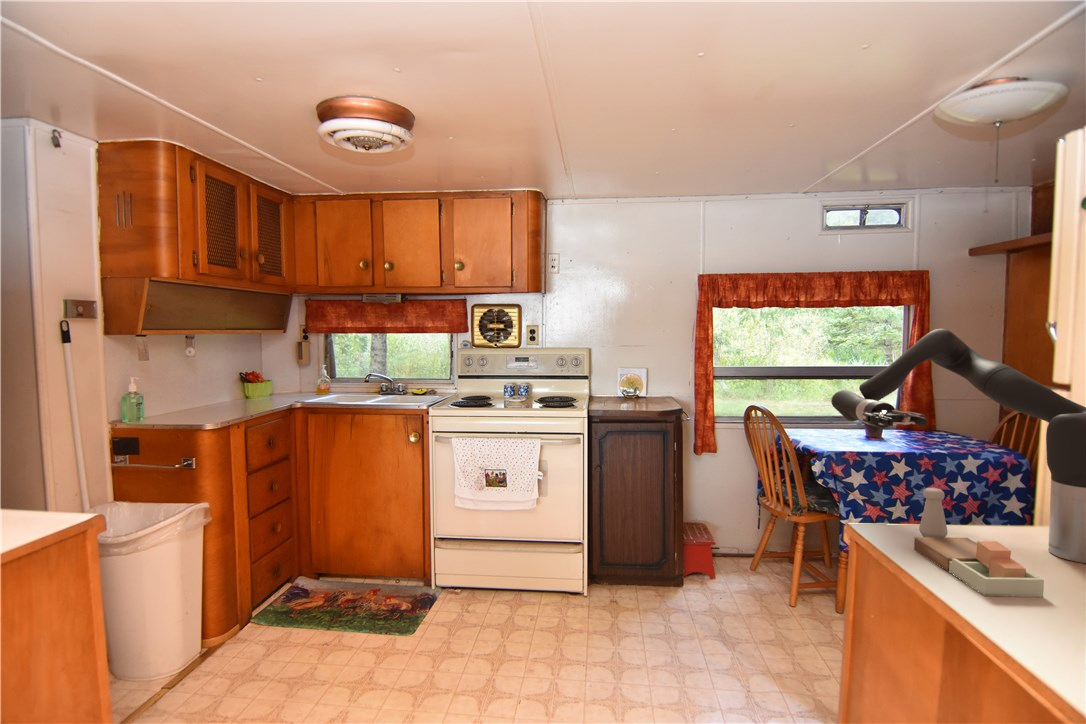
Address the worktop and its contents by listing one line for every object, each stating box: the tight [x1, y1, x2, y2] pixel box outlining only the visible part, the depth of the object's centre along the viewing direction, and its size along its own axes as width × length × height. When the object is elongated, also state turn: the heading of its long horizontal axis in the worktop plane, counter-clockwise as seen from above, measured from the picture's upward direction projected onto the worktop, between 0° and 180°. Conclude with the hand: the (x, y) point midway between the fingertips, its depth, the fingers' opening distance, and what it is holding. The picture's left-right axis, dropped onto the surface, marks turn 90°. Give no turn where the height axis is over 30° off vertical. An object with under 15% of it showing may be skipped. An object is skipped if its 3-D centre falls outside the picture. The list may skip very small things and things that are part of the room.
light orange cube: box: [976, 540, 1012, 568], centre depth 116 cm, size 4×4×4 cm
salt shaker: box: [918, 487, 949, 537], centre depth 136 cm, size 6×6×13 cm
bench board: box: [913, 536, 980, 572], centre depth 124 cm, size 12×12×3 cm
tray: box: [948, 558, 1045, 598], centre depth 113 cm, size 11×10×4 cm
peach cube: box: [989, 557, 1027, 578], centre depth 112 cm, size 4×4×4 cm
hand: (908, 422), depth 146 cm, fingers open, 8 cm apart
